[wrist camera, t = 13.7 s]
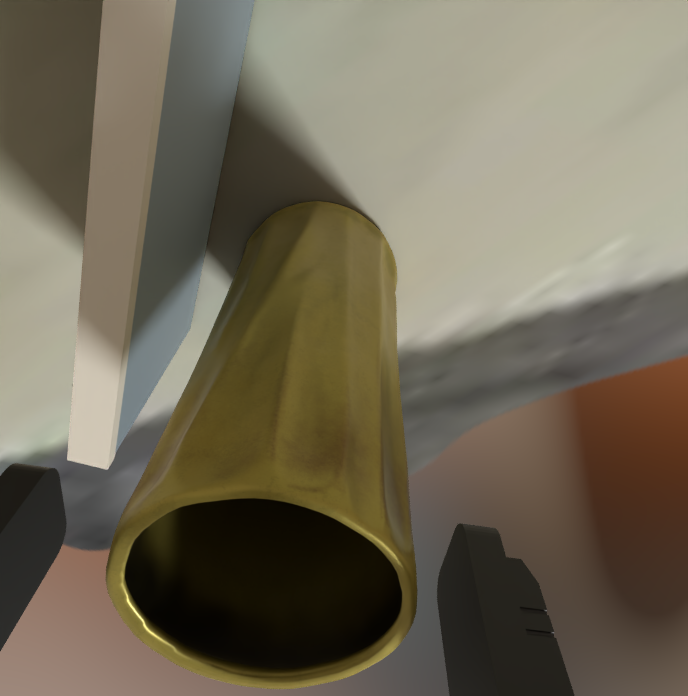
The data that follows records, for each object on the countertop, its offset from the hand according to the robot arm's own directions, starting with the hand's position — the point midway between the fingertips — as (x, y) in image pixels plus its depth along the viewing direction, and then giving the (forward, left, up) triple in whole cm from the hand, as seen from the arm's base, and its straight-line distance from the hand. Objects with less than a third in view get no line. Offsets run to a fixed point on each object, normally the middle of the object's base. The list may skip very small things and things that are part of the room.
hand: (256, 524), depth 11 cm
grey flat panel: (-6, -1, -12) cm, 13 cm away
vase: (0, +1, -12) cm, 12 cm away
